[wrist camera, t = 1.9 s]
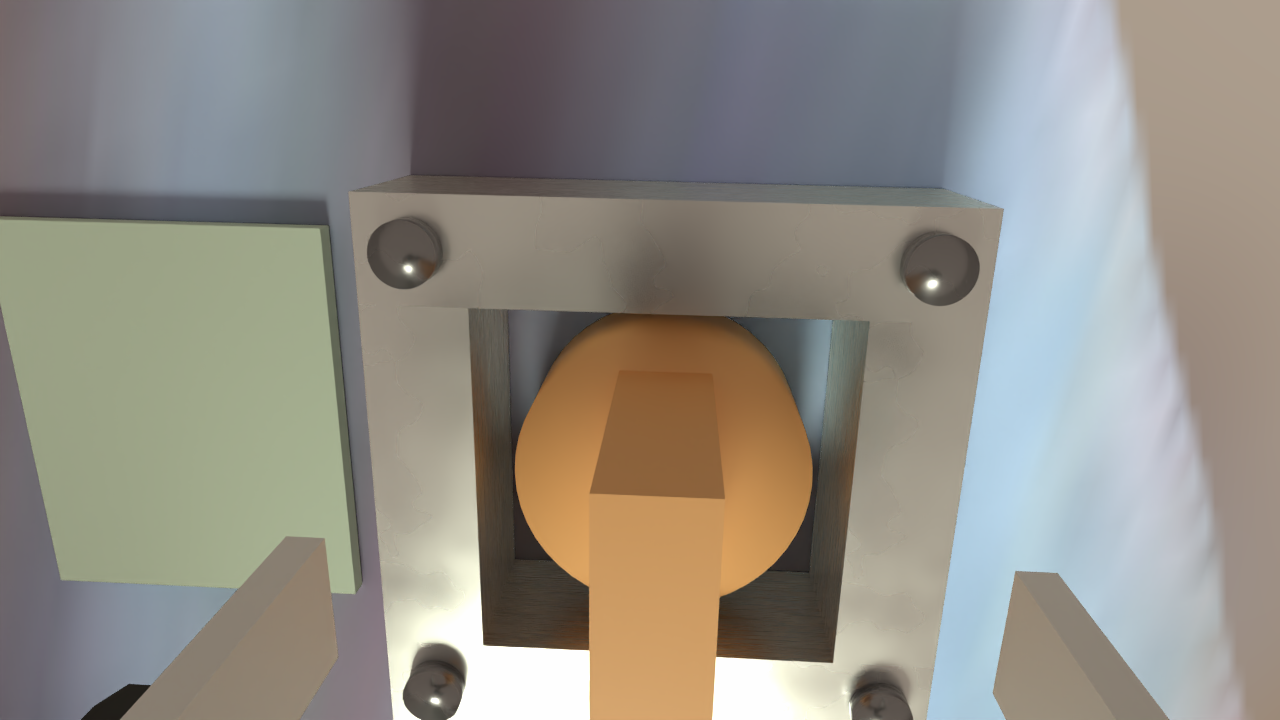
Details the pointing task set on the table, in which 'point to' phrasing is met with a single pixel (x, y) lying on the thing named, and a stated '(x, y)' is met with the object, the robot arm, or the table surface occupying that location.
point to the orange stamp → (662, 495)
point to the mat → (181, 395)
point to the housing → (675, 285)
